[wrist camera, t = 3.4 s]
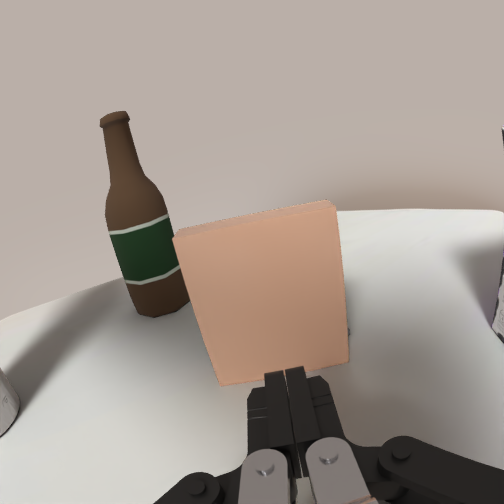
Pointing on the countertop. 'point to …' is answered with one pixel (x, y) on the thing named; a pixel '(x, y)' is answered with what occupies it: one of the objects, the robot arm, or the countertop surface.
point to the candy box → (500, 299)
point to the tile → (267, 290)
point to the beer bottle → (140, 226)
